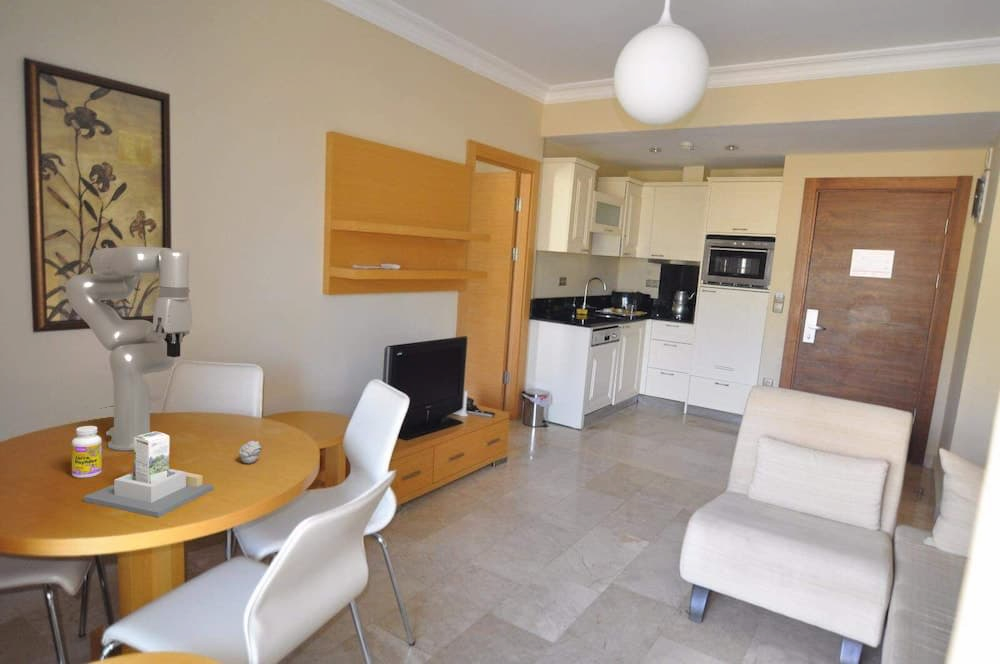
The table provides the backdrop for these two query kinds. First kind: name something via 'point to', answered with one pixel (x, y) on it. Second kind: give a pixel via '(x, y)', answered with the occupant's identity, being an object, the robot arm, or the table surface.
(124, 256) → the robot arm
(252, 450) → the white wrinkled round lump
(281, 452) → the table surface
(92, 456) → the supplement bottle
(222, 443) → the table surface
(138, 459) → the syrup box
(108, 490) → the socket jig
